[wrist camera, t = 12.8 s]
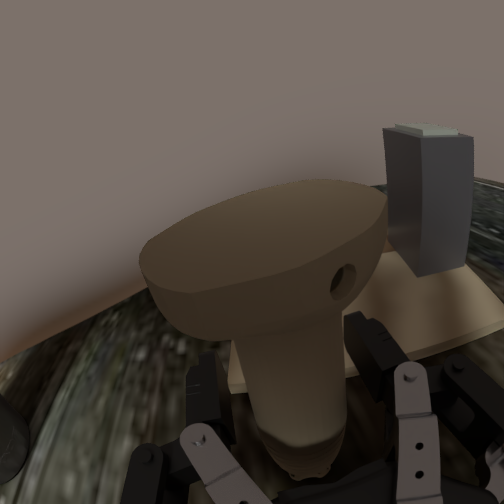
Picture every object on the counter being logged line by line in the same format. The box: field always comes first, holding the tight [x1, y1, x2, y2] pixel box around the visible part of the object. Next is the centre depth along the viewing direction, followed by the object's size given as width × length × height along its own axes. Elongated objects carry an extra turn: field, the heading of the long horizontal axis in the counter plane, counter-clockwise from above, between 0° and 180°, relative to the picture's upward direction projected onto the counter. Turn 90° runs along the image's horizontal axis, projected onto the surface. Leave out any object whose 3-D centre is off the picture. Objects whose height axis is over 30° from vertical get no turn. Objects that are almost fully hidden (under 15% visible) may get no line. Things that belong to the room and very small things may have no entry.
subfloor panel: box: [228, 232, 504, 394], centre depth 27 cm, size 24×20×1 cm
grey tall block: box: [383, 123, 474, 278], centre depth 25 cm, size 6×8×14 cm
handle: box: [139, 179, 388, 481], centre depth 10 cm, size 5×6×15 cm
